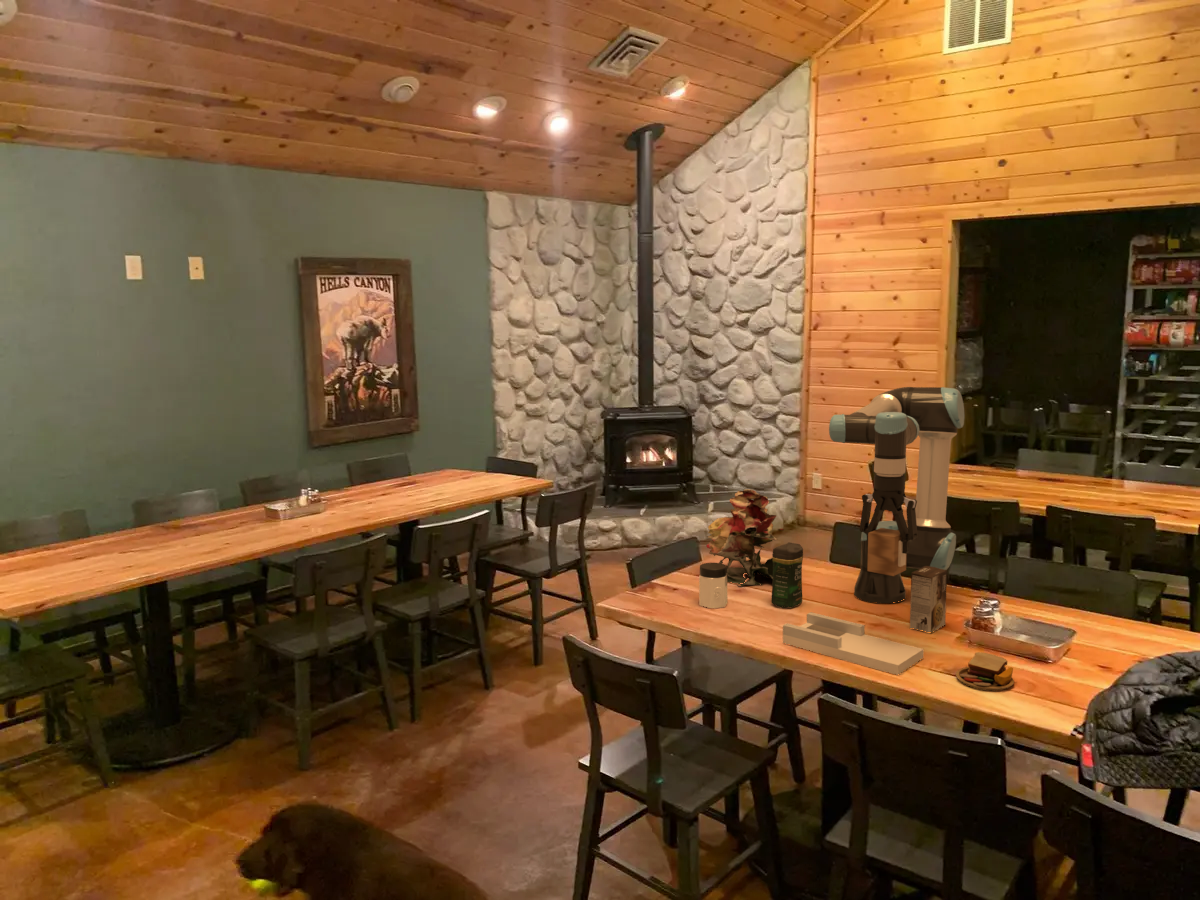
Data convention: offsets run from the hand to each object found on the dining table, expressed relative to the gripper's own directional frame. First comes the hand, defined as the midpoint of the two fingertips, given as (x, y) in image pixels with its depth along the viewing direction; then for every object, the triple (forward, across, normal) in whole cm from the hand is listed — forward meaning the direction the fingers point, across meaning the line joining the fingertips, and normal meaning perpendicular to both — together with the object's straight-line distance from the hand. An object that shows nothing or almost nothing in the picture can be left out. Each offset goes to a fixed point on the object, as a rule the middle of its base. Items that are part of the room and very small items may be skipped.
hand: (887, 562), depth 221 cm
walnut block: (+2, 0, 0) cm, 2 cm away
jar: (+23, +55, 0) cm, 60 cm away
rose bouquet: (+23, +65, -31) cm, 75 cm away
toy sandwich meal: (+24, -26, +3) cm, 35 cm away
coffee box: (+23, -1, -23) cm, 33 cm away
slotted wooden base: (+23, +6, +7) cm, 25 cm away
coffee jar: (+23, +39, -15) cm, 47 cm away
